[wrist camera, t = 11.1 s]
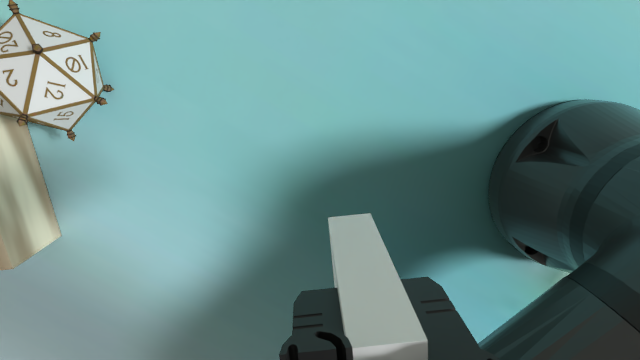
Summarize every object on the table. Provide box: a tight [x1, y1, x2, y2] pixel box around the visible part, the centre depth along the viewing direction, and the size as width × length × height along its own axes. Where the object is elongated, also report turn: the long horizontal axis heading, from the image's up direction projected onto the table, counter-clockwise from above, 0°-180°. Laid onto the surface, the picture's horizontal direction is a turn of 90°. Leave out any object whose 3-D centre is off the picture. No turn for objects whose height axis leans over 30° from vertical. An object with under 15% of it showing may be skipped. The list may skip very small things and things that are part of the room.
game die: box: [0, 0, 114, 141], centre depth 27 cm, size 9×8×10 cm
